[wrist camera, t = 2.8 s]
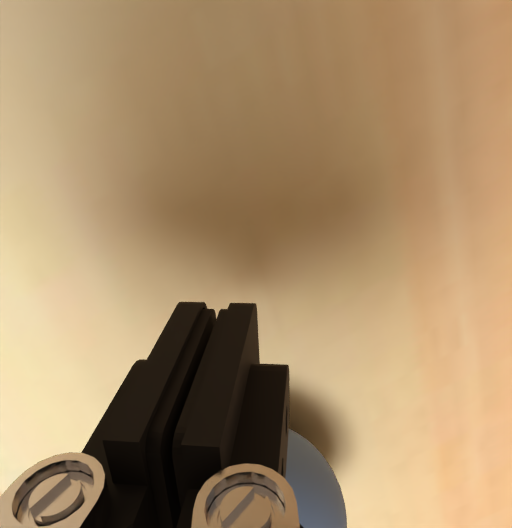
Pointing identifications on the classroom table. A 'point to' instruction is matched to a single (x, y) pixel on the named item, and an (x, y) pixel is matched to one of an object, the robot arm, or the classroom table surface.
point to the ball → (313, 485)
